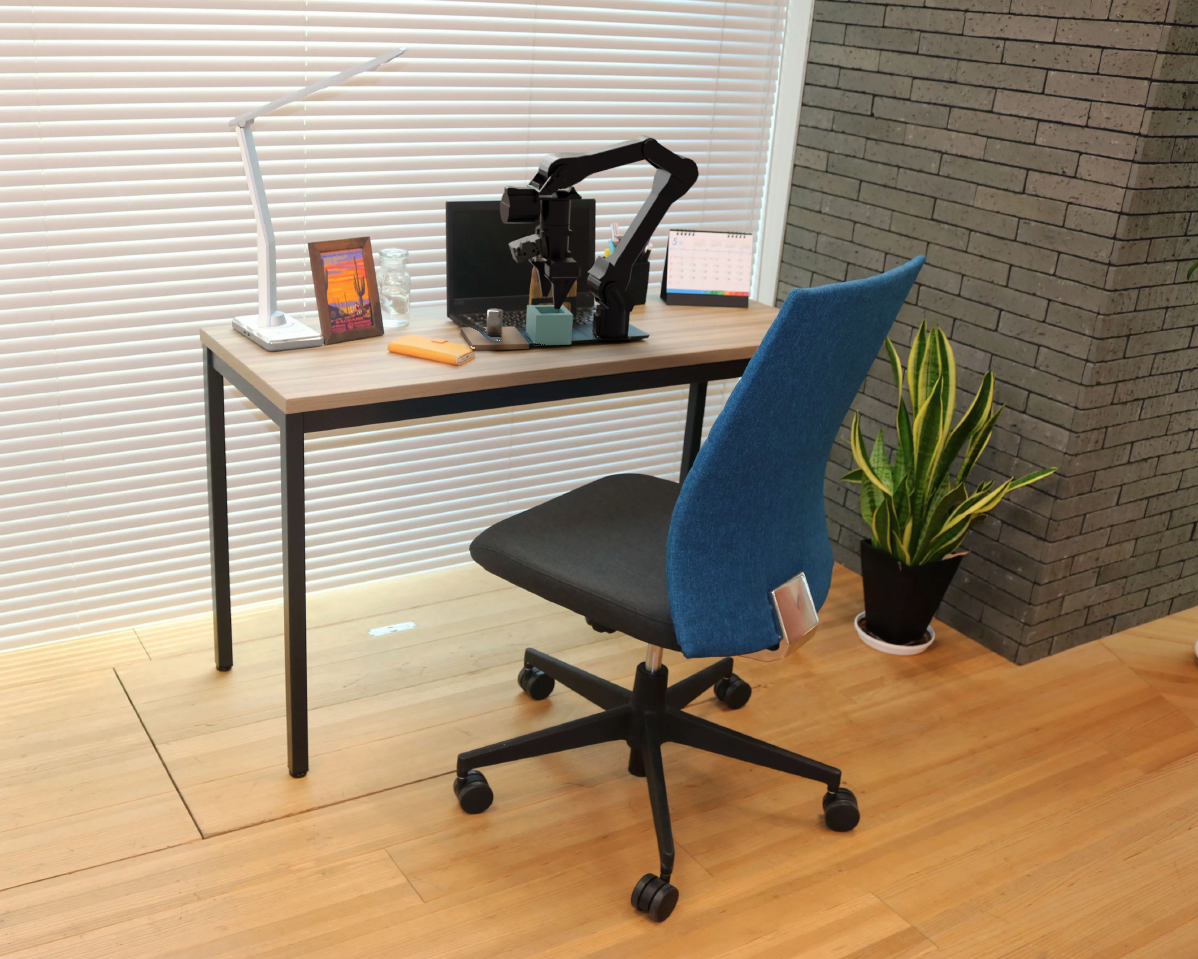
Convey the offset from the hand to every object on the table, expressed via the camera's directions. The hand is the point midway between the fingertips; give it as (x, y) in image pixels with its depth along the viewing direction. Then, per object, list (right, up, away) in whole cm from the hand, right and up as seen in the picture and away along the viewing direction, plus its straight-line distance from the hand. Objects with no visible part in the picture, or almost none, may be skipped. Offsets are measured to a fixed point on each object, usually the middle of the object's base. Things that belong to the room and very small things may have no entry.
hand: (550, 302), depth 225 cm
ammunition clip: (0, -1, +17) cm, 17 cm away
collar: (-1, -7, +3) cm, 8 cm away
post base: (-11, -7, 0) cm, 13 cm away
